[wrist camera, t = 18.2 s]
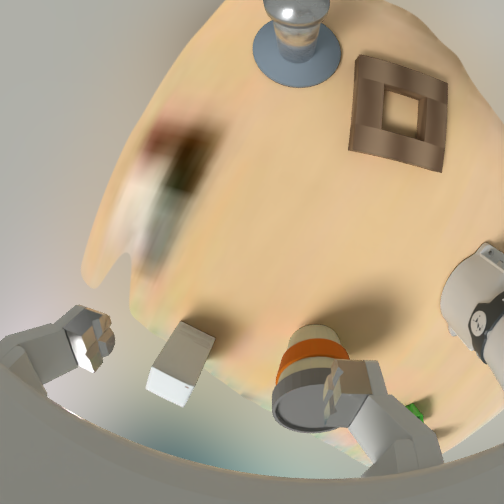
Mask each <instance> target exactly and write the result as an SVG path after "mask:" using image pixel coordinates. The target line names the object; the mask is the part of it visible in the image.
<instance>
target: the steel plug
mask: <svg viewBox="0 0 504 504" xmlns="http://www.w3.org/2000/svg"><path fill="white" fill-rule="evenodd" d="M263 3H264V7H265V10H266V13H267V15H268V16H269V17H270V18H271V19H272V20H273V24H274V29H275V34H276V40H277V45H278V51H279V53H280V55H281V56H282V57H283V58H284V59H285V60H287V61H289V62H291V63H304V62H307V61H309V60H310V59H311V58H312V57H313V55H314V53H315V48H316V43H317V38H318V33H319V28H320V23H321V22H323V21H324V19H325V18H326V16H327V14H328V10H329V6H330V0H263Z"/></svg>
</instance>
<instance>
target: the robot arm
mask: <svg viewBox="0 0 504 504" xmlns="http://www.w3.org/2000/svg"><path fill="white" fill-rule="evenodd" d="M489 251H490V252H489ZM440 307H441V313H442V315H443V317H444V319H445V320H446V321H447V323H448V330H449V333H450V334H451V335H452V336H458V337H459V338H460V339H461V340H462V342H463V343H464V344H465V345H466V346H467V347H468V349H469V350H471V351H473V350H475V351H476V354H477V356H478V357H479V358H480V359H481V360H482V361H483V362H484V363H485V364H488V366H489V367H490V369H491V371H492V372H493V374H494V376H495V377H496V379H497V381H498V382H499V384H500V386H501V387H502V389H503V391H504V253H502V252H501V251H499V250H498V249H496V248H495V247H493V246H492V245H490V244H488V243H484V244H482V245H481V246H480V248H479V249H478V250H477V251H476V253H475V254H473V255H472V256H470V257H469V258H467V259H465V260H464V261H463V262H462V263H460V264H459V265H458V266H457V267H456V269H455V270H454V271H453V272H452V274H451V275H450V277H449V278H448V280H447V282H446V284H445V286H444V289H443V292H442V296H441V303H440ZM110 326H111V320H110V316H108V315H107V314H105V313H102V312H99V311H96V310H93V309H91V308H87V307H84V306H82V305H75V306H74V307H73V308H72V309H71V310H69V311H68V312H67V313H66V314H65V315H63V316H62V317H61V318H60V319H59V320H58V321H56V322H55V323H54V324H51V323H50V324H46V325H43V326H40V327H36V328H33V329H29V330H26V331H22V332H19V333H15V334H11V335H8V336H6V337H5V338H3V339H2V340H1V341H0V504H504V443H502V444H499V445H497V446H495V447H492V448H490V449H487V450H485V451H482V452H479V453H476V454H474V455H471V456H468V457H465V458H462V459H458V460H455V461H452V462H448V463H444V461H443V457H442V453H441V450H440V446H439V443H438V439H437V436H436V433H434V432H433V431H432V430H431V429H430V428H429V427H428V426H426V425H425V424H424V423H423V422H422V421H421V420H420V419H419V418H417V417H416V416H415V415H414V414H413V413H412V412H411V411H410V410H408V409H407V408H406V407H405V406H404V405H403V404H402V403H401V402H399V401H398V400H397V399H396V398H395V397H394V396H393V395H388V393H387V389H386V386H385V382H384V379H383V376H382V372H381V369H380V366H379V363H378V361H377V360H363V361H362V360H348V359H334V361H333V363H332V365H331V374H330V375H328V376H327V378H326V381H325V385H324V390H323V401H324V403H325V404H326V407H325V410H324V426H325V427H345V428H348V429H349V431H350V432H351V434H352V435H353V436H354V438H355V439H356V441H357V442H358V443H359V445H360V446H361V447H362V449H363V450H364V452H365V453H366V454H367V456H368V457H369V458H370V460H371V461H372V462H373V465H372V466H371V467H370V468H369V469H368V470H367V471H366V472H365V473H364V474H362V475H361V478H346V479H304V478H286V477H275V476H266V475H258V474H251V473H245V472H239V471H233V470H227V469H223V468H218V467H213V466H209V465H205V464H201V463H197V462H193V461H189V460H185V459H182V458H179V457H175V456H172V455H169V454H166V453H163V452H160V451H157V450H154V449H151V448H148V447H146V446H143V445H140V444H138V443H135V442H133V441H130V440H128V439H126V438H123V437H121V436H118V435H116V434H114V433H111V432H110V431H107V430H105V429H103V428H101V427H99V426H97V425H95V424H93V423H91V422H89V421H87V420H85V419H83V418H82V417H80V416H78V415H76V414H74V413H72V412H71V411H69V410H67V409H66V408H64V407H62V406H61V405H59V404H57V403H55V402H54V401H52V400H51V399H49V398H48V397H47V392H46V390H45V388H44V387H43V384H45V383H47V382H49V381H52V380H53V379H55V378H57V377H59V376H61V375H63V374H65V373H67V372H69V371H71V370H73V369H75V368H77V367H78V366H79V367H82V368H84V369H86V370H88V371H91V372H93V373H95V372H96V370H97V369H98V368H99V367H100V365H101V364H102V363H103V357H105V356H108V355H109V354H110V353H111V352H112V350H113V347H114V345H115V337H114V333H113V331H112V330H111V328H110Z"/></svg>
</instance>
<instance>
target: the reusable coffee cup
mask: <svg viewBox="0 0 504 504" xmlns="http://www.w3.org/2000/svg"><path fill="white" fill-rule="evenodd" d="M334 359H348V360H350V359H349V356H348V354H347V352H346V350H345V349H344V348H343V347H342V346H341V343H340V341H339V338H338V336H337V334H336V333H335V332H334V330H332V329H331V328H329V327H327V326H324V325H316V324H315V325H308V326H304V327H302V328H300V329H299V330H297V331H296V332H295V333H294V334H293V335H292V336H291V338H290V340H289V344H288V348H287V351H286V352H285V354H284V355H283V357H282V360H281V363H280V367H279V370H278V374H277V377H276V386H275V388H274V390H273V393H272V413H273V416H274V418H275V420H276V421H277V422H278V423H279V424H280V425H282V426H283V427H285V428H287V429H290V430H292V431H297V432H302V433H321V432H327V431H331V430H334V429H337V428H339V427H325V426H324V410H325V407H326V404H325V403H324V401H323V390H324V385H325V381H326V378H327V376H328V375H330V374H331V365H332V363H333V361H334Z"/></svg>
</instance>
